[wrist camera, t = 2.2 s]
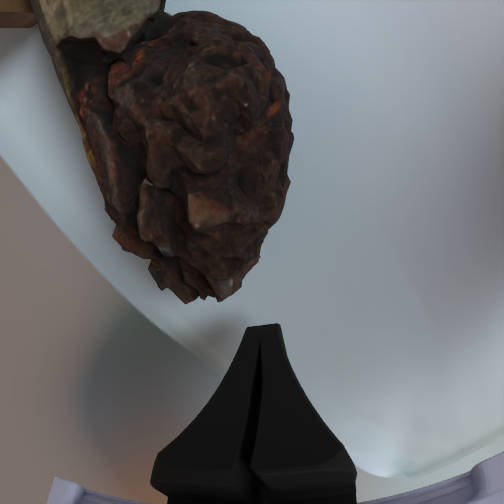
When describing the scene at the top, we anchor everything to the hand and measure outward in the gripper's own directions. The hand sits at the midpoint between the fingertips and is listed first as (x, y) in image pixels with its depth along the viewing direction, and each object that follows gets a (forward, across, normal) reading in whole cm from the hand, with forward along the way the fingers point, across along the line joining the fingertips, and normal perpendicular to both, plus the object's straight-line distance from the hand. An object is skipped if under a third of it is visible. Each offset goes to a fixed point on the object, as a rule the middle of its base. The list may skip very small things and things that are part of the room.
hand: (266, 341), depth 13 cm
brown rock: (+3, +2, -12) cm, 13 cm away
